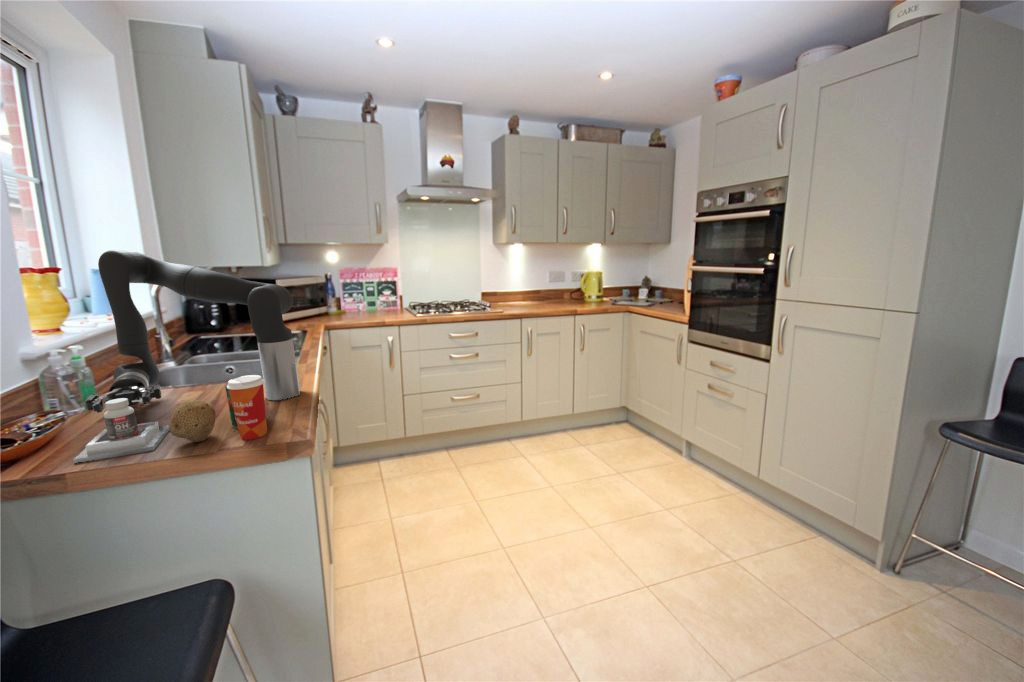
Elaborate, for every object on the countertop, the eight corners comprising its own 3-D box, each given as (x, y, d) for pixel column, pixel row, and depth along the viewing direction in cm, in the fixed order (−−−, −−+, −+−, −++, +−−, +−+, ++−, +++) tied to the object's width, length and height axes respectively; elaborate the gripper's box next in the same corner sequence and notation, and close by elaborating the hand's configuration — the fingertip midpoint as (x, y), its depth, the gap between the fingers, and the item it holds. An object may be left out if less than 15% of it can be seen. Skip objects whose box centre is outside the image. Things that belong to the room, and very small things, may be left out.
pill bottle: (120, 446, 104) (111, 405, 102) (104, 444, 105) (94, 403, 103) (145, 437, 109) (137, 397, 107) (129, 434, 110) (120, 396, 108)
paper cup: (227, 439, 108) (217, 382, 105) (256, 427, 115) (247, 373, 112) (251, 443, 105) (242, 385, 102) (279, 430, 112) (271, 375, 109)
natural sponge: (173, 454, 101) (164, 411, 99) (172, 441, 108) (164, 400, 106) (221, 442, 107) (214, 401, 104) (218, 430, 114) (211, 392, 112)
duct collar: (170, 428, 116) (168, 417, 116) (154, 450, 104) (151, 437, 103) (100, 439, 111) (97, 427, 110) (74, 463, 98) (70, 450, 98)
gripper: (91, 379, 118) (78, 395, 105) (160, 369, 126) (156, 383, 112) (98, 407, 120) (85, 426, 106) (165, 395, 127) (162, 412, 114)
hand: (121, 404), depth 109 cm, fingers open, 8 cm apart
